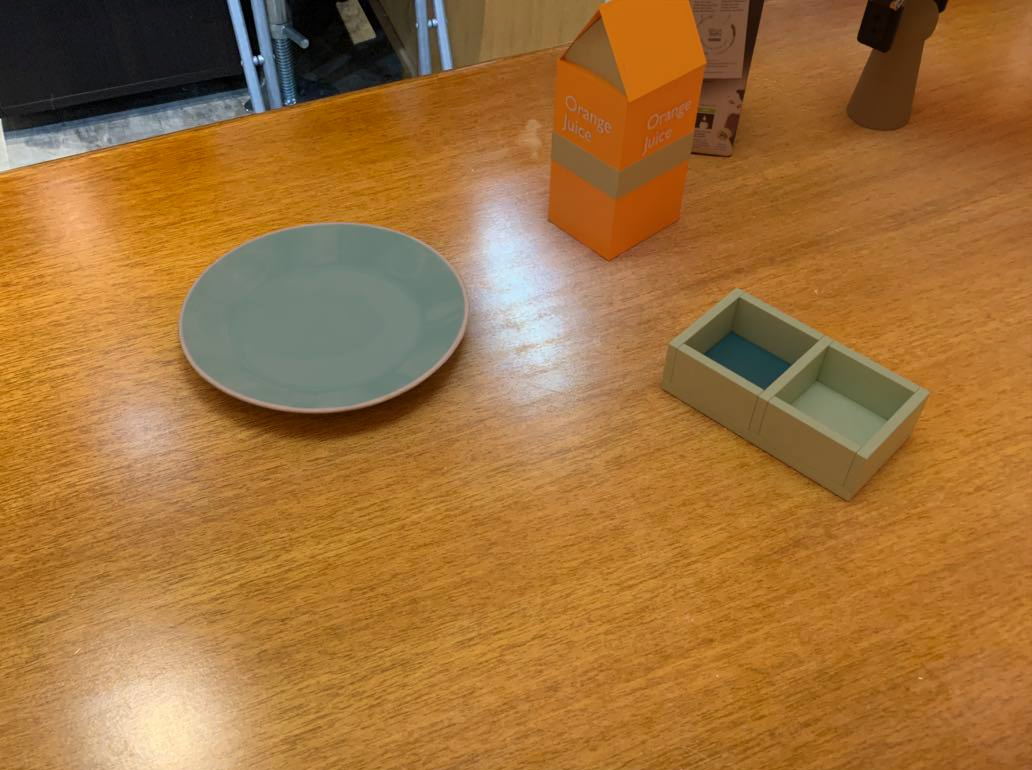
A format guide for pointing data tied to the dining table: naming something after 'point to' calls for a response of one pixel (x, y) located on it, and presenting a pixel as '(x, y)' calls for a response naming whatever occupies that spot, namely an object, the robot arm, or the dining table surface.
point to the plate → (323, 317)
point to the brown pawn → (894, 71)
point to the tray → (793, 391)
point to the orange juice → (625, 123)
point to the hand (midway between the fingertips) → (900, 26)
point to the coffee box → (723, 69)
